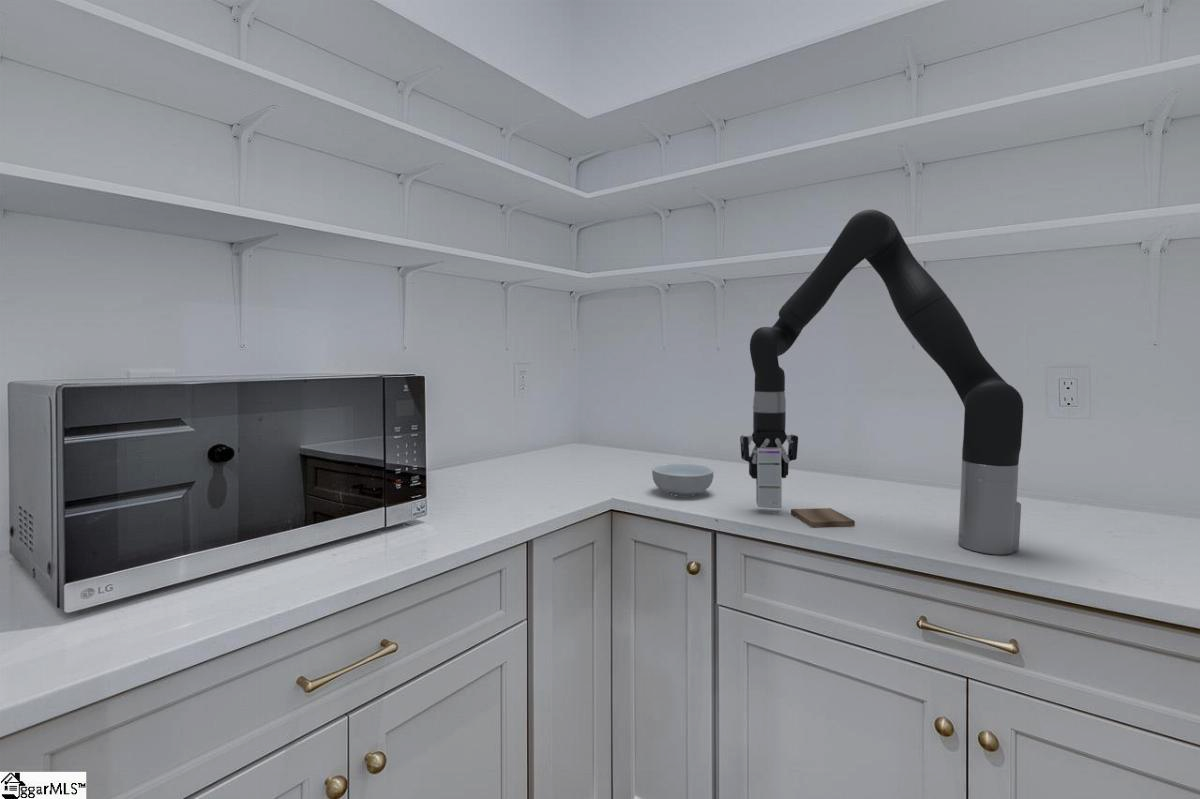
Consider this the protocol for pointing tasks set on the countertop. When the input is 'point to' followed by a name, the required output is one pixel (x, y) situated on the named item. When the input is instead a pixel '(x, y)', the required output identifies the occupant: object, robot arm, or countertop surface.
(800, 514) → the walnut board
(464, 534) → the countertop surface
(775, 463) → the syrup box
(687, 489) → the cereal bowl
